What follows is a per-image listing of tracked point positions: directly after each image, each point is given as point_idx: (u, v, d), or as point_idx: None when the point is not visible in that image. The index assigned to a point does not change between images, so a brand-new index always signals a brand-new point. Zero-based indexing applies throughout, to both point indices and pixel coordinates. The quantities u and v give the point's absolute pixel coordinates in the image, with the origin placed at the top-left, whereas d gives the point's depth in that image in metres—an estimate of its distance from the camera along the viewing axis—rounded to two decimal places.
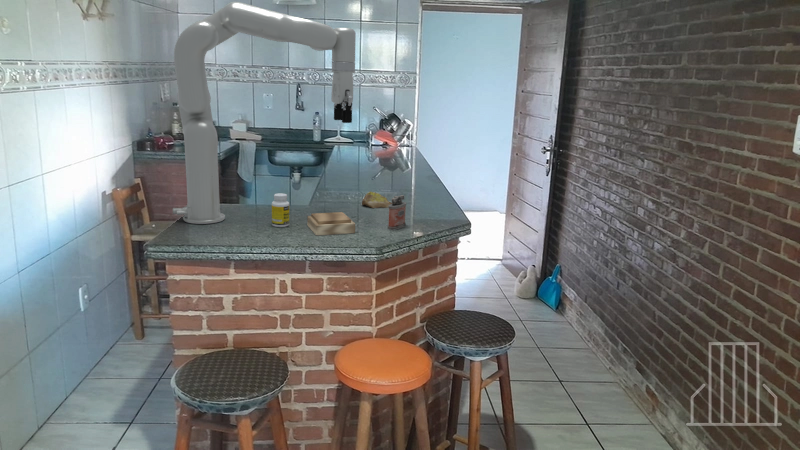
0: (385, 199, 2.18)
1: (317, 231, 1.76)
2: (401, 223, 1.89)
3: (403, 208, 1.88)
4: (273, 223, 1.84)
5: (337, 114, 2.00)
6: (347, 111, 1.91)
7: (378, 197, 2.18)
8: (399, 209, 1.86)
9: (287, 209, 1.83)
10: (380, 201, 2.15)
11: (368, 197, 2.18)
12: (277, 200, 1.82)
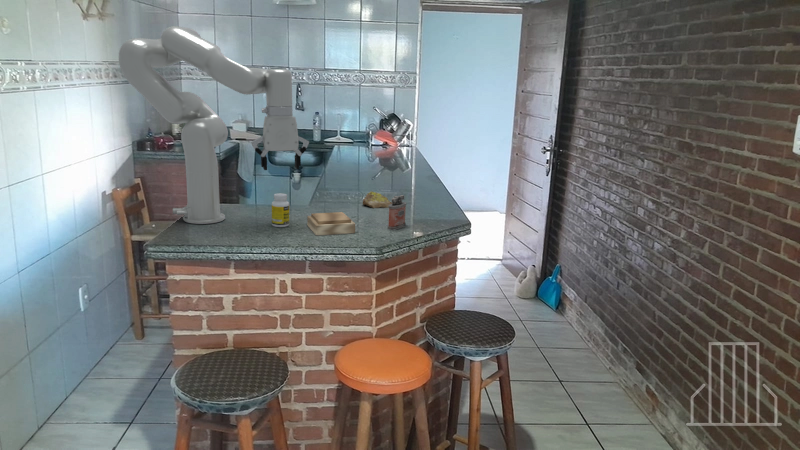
0: (386, 199, 2.18)
1: (317, 231, 1.76)
2: (401, 223, 1.89)
3: (403, 208, 1.88)
4: (273, 223, 1.84)
5: (266, 163, 1.79)
6: None
7: (379, 197, 2.18)
8: (399, 209, 1.86)
9: (287, 209, 1.83)
10: (381, 201, 2.15)
11: (369, 197, 2.18)
12: (277, 200, 1.82)
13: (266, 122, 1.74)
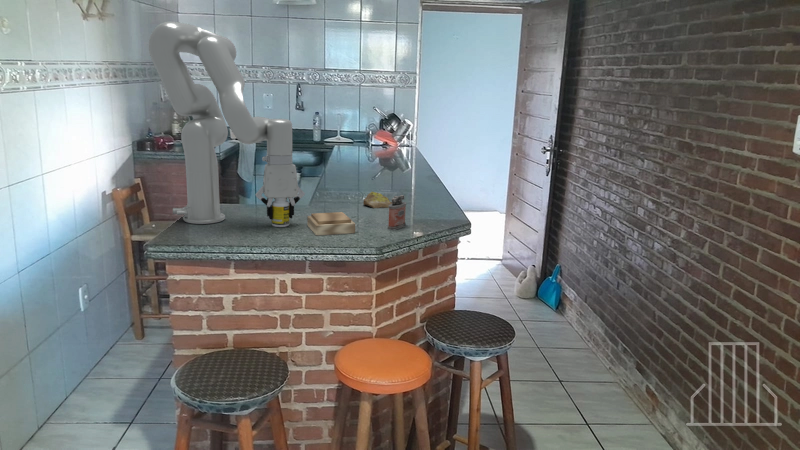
0: (387, 199, 2.18)
1: (317, 231, 1.76)
2: (401, 223, 1.89)
3: (403, 208, 1.88)
4: (273, 223, 1.84)
5: None
6: None
7: (380, 197, 2.18)
8: (399, 209, 1.86)
9: (287, 209, 1.83)
10: (381, 201, 2.15)
11: (370, 197, 2.18)
12: (277, 200, 1.82)
13: (266, 170, 1.78)
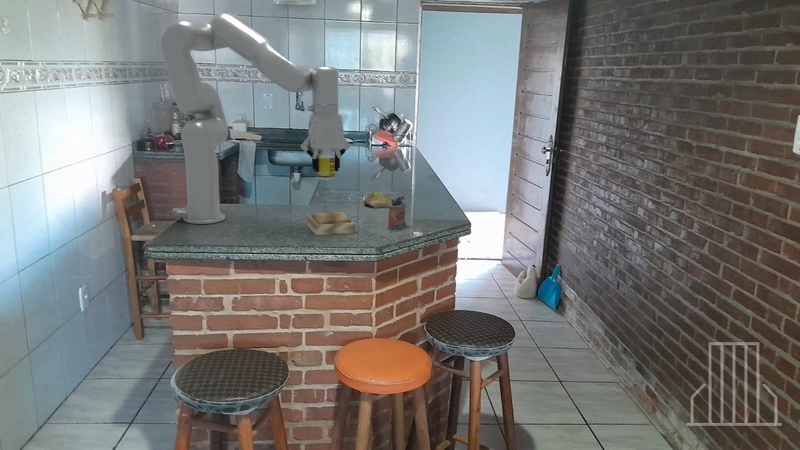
0: (387, 199, 2.17)
1: (317, 231, 1.76)
2: (401, 223, 1.89)
3: (403, 208, 1.88)
4: (319, 176, 1.78)
5: None
6: None
7: (380, 197, 2.18)
8: (399, 209, 1.86)
9: (333, 161, 1.77)
10: (382, 201, 2.15)
11: (370, 197, 2.18)
12: (323, 152, 1.76)
13: (312, 120, 1.72)
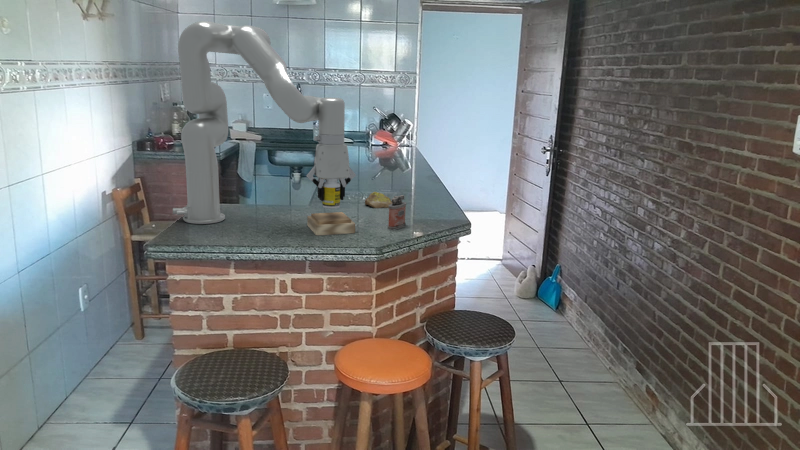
0: (388, 199, 2.17)
1: (317, 231, 1.76)
2: (401, 223, 1.89)
3: (403, 208, 1.88)
4: (324, 204, 1.80)
5: None
6: None
7: (381, 197, 2.18)
8: (399, 209, 1.86)
9: (338, 190, 1.79)
10: (383, 201, 2.15)
11: (371, 197, 2.18)
12: (328, 181, 1.78)
13: (319, 150, 1.74)
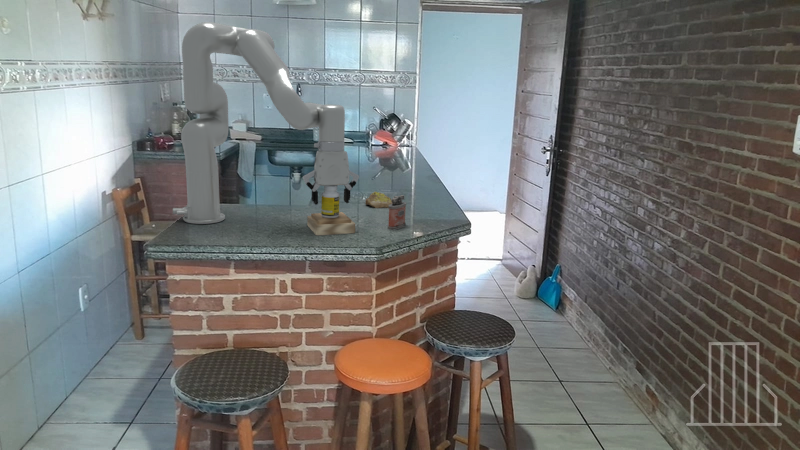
0: (389, 199, 2.17)
1: (317, 231, 1.76)
2: (401, 223, 1.89)
3: (403, 208, 1.88)
4: (323, 214, 1.80)
5: None
6: None
7: (382, 197, 2.18)
8: (399, 209, 1.86)
9: (337, 200, 1.80)
10: (383, 201, 2.15)
11: (372, 197, 2.18)
12: (328, 191, 1.79)
13: (319, 157, 1.75)
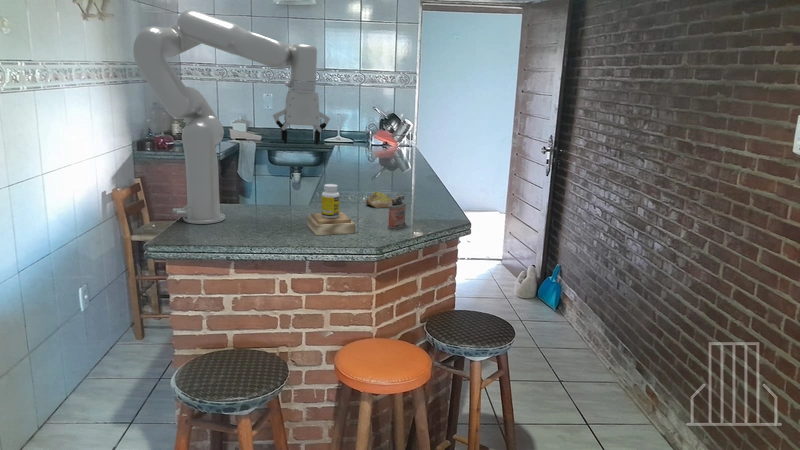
0: (389, 199, 2.17)
1: (317, 231, 1.76)
2: (401, 223, 1.89)
3: (403, 208, 1.88)
4: (323, 214, 1.80)
5: (286, 137, 1.81)
6: None
7: (383, 197, 2.18)
8: (399, 209, 1.86)
9: (337, 200, 1.80)
10: (384, 201, 2.15)
11: (373, 197, 2.18)
12: (328, 191, 1.79)
13: (289, 96, 1.77)
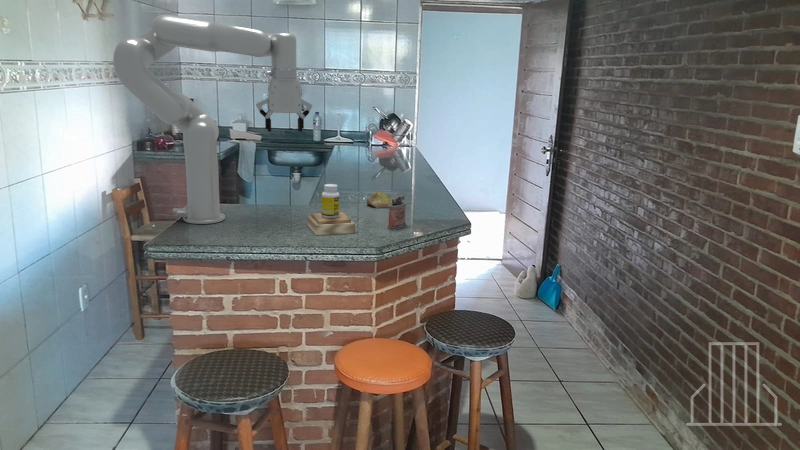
0: (390, 199, 2.17)
1: (317, 231, 1.76)
2: (401, 223, 1.89)
3: (403, 208, 1.88)
4: (323, 214, 1.80)
5: (270, 125, 1.84)
6: None
7: (383, 197, 2.18)
8: (399, 209, 1.86)
9: (337, 200, 1.80)
10: (384, 201, 2.15)
11: (373, 197, 2.18)
12: (328, 191, 1.79)
13: (271, 84, 1.80)
